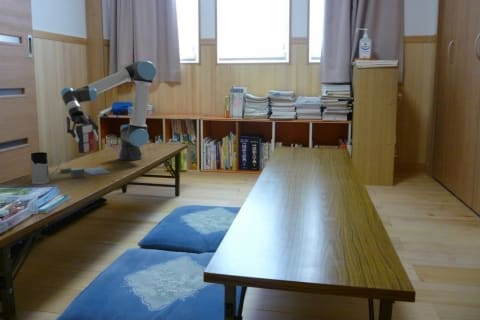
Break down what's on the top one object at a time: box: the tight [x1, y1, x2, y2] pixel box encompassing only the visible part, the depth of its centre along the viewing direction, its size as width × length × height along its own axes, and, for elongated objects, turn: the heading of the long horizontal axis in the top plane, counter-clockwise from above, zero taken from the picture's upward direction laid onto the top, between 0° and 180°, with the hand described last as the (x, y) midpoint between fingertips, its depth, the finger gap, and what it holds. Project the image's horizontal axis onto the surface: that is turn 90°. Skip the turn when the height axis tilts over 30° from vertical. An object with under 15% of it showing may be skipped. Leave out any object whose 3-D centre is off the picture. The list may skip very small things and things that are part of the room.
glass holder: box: [30, 151, 61, 185], centre depth 226 cm, size 9×14×15 cm, turn 111°
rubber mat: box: [84, 167, 112, 176], centre depth 254 cm, size 11×16×1 cm
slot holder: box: [59, 166, 85, 179], centre depth 245 cm, size 6×20×5 cm, turn 41°
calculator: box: [75, 124, 95, 154], centre depth 247 cm, size 11×4×15 cm, turn 169°
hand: (87, 140), depth 245 cm, fingers closed on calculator, 10 cm apart
